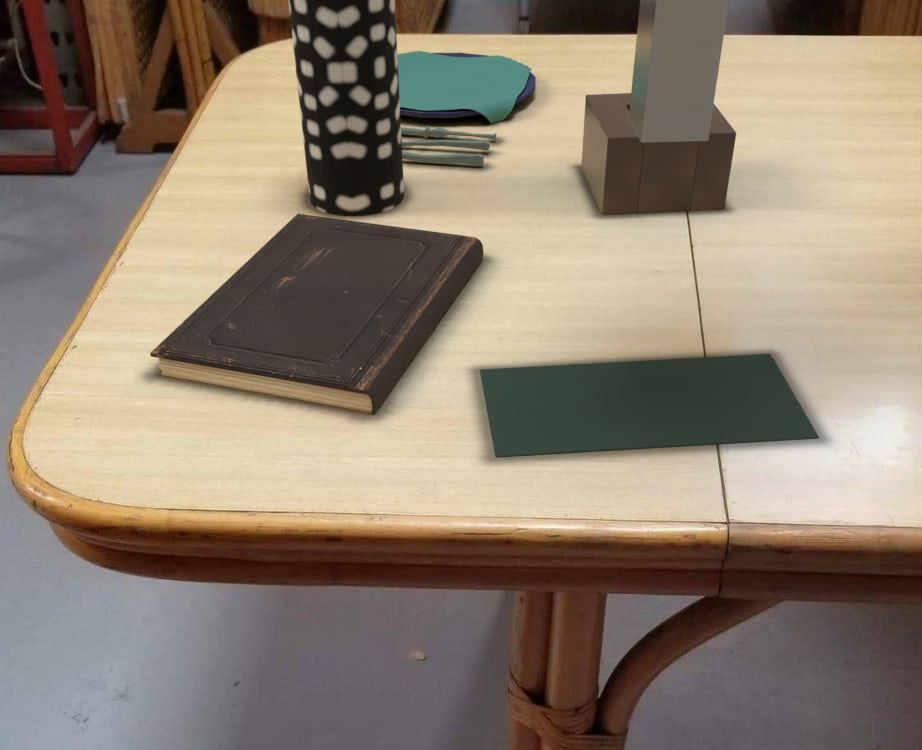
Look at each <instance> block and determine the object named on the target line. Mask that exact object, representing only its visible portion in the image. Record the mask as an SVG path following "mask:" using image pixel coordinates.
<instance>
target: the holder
mask: <svg viewBox="0 0 922 750" xmlns="http://www.w3.org/2000/svg"><path fill="white" fill-rule="evenodd" d="M630 100H631V92H625V93H624V92H623V93H621V92H620V93H599V94H597V93H596V94H585V103H584V117H583V134H582V148H581V149H582V151H581V167H580V168H581V171H582V173H583V175H584V178H585V180H586V182H587V184H588V187H589V189H590V191H591V194H592V197H593V198H594V201H595V203H596V206H597V207H598V210H599V212H600V214H601V216H622V215H623V216H624V215H644V214H662V213H663V214H665V213H685V212H707V211H725V208H726V203H727V196H728V195H727V194H728V190H729V185H730V176H731V170H732V164H733V159H734V158H733V157H734V151H735V144H736V139H737V138H736V137H737V131H736V130H735V129H734V128H733V125H731V124H730V123H729V121H728V120H727V118H726V117H725V116H724V115H723V113H722V112H721V111H720V110H719V108H718V107H717V106H716V104H715V103H714V104H713V111H712V118H711V124H710V131H709V138H708V141H689V142H656V143H642V142H641V141H640V139H639V137H638V135H637V133H636V132H635V130H634V128H633V126H632V124H631V123H630V121H629V110H630Z"/></svg>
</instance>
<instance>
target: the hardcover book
mask: <svg viewBox="0 0 922 750" xmlns="http://www.w3.org/2000/svg"><path fill="white" fill-rule="evenodd" d="M483 260H484V244H483V243H482V241H481V240H480V239H479V238H478V237H475V236H468V235H460V234H453V233H447V232H439V231H432V230H424V229H417V228H416V229H415V228H409V227H401V226H393V225H387V224H379V223H370V222H363V221H357V220H348V219H341V218H335V217H327V216H318V215H312V214H304V213H297V214H296V215H295V216H293V217H292V218H291V219H290V220H289V221H288V222H287V223H286V224H285V225H284V226H283V227H282V228H281V229H280V230H279V231H277V232H276V233H275V234H274V236H272V237H271V238H270V239H269V240H268V241H267V242H266V243H265V244H264V245H263V246H262V247H260V249H258V250H257V252H255V253H254V254H253V255H252V256H251V257H250V258H249V259H248V260H247V261H245V262H244V264H243V265H242V266H240V267H239V268H238V270H236V271H235V272H234V273H233V274H232V275H231V276H230V277H229V278H228V279H226V281H225V282H223V283H222V285H220V286H219V287H218V288H217V289H216V290H215V291H214V292H213V293H212V294H211V295H210V296H209V297H207V298H206V299H205V300H204V302H202V303H201V304H200V305H199V306H198V307H197V308H196V309H195V310H194V311H193V312H192V313H190V315H188V317H186V318H185V319H184V320H183V321H182V322H181V323H180V324H179V325H178V326H177V327H176V328H175V329H174V330H173V331H171V333H170V334H169V335H167V336H166V337H165V338H164V339H163V340H162V341H161V342H160V343H159V344H158V345H157V346H155V348H153V350H152V351H151V352H149V354H150V358H151V357H152V358H156V359H157V358H158V362H159V364H158V368H159V369H160V370H161V375H162V376H166V377H171V378H177V379H181V380H182V379H183V380H188V381H193V382H199V383H205V384H211V385H217V386H222V387H227V388H232V389H238V390H244V391H248V392H254V393H260V394H266V395H272V396H277V397H282V398H287V399H294V400H300V401H304V402H305V401H306V402H311V403H315V404H321V405H327V406H332V407H338V408H344V409H349V410H354V411H359V412H366V413H371V414H370V415H371V416H374V415H375V414H376V413H377V411H378V410H379V408H380V407H381V406H382V404H383V403H384V401H385V400H386V399H387V397H388V396H389V394H390V393H391V391H392V390H393V388H394V387H395V386H396V384H397V383H398V381H399V380H400V378H401V377H402V376H403V374H404V373H405V371H406V370H407V369H408V367H409V366H410V364H411V363H412V361H413V360H414V358H415V357H416V355H417V354H418V352H419V351H420V350H421V348H422V347H423V345H424V344H425V343H426V342H427V340H428V338H429V337H430V336H431V334H433V331H434V330H435V328H436V327H437V325H438V324H439V322H440V321H441V319H443V317H444V316H445V314H446V312H447V311H448V310H449V309H450V307H451V306H452V305H453V303H454V301H455V300H456V299H457V297H458V295H459V294H460V292H461V291H462V290H463V288H464V287H465V285H466V284H467V282H468V281H469V280H470V279H471V277H472V275H473V274H474V273H475V271H476V270H477V268H478V267H479V266H480V264H481V263H482V261H483Z"/></svg>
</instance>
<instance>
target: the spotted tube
mask: <svg viewBox="0 0 922 750" xmlns="http://www.w3.org/2000/svg"><path fill="white" fill-rule="evenodd" d="M287 1H288V10H289V18H290V19H289V20H290V28H291V37H292V38H291V39H292V46H293V47H292V48H293V55H294V56H293V57H294V67H295V75H296V83H297V84H296V85H297V91H298V93H297V94H298V102H299V103H298V104H299V111H300V112H299V113H300V120H301V121H300V122H301V129H302V139H303V140H302V141H303V149H304V158H305V167H306V176H307V185H308V193H309V194H308V195H309V202H310V204H311V205H312V206H313V207H314V209H316V210H318V211H320V212H322V213H326V214H329V215H333V216H340V217H341V216H342V217H365V216H372V215H376V214H381V213H385V212H387V211H390V210H393V209H394V208H396V207H397V206H399V205H400V204H401V203H402V201H403V200H404V198H405V185H404V184H405V183H404V163H403V161H404V159H402V152H403V146H402V141H403V140H402V134H401V127H402V122H401V120H402V119H401V115H400V98H399V78H398V57H397V54H398V41H397V39H398V37H397V20H396V19H397V18H396V0H287Z"/></svg>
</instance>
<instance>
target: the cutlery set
mask: <svg viewBox="0 0 922 750" xmlns="http://www.w3.org/2000/svg"><path fill="white" fill-rule="evenodd" d="M397 57H398V78H399V98H400V116H404V117H405V116H407V117H413V118H421V119H452V118H453V119H454V118H455V119H456V118H463V117H472V116H479V115H482V116H483V117H485V118H486V119H487V120H488V122H489V123H490V124H496V123H500V122H503V120H504V119H506V118H507V117H508V116H509V115H510V113H511V112H512V110H513V109H514V106H515V105H516V104H518V103H521V102H522V101H525V100H526V99H528V98H529V96H530V95H531V94H532V93H533V92H534V91H536V87H537V86H536V85H537V84H536V83H537V82H536V80H537V79H536V76H535V75H534V73H532V72H531V71H532V69H533V68H532V67H529V66H528V65H527V64H524V63H522V62H518V61H517V60H515V59H512V58H511V57H506V56H504V55H486V54H476V53H467V52H430V51H429V52H428V51H423V50H415V51H413V50H412V51H409V52H403V53H397ZM401 135H412V136H413V135H415V136H423V137H424V140H410V141H403V140H402V147H447V148H448V147H449V148H463V149H472V150H479V151H484V152H486V151H489V150H490V148H491V140H493V141H494V143H496V142H497V132H495V133H472V132H471V133H470V132H465V131H454V130H448V129H446V128H443V127H441V126H438V127H435V128H430V127H429V125H428V124H427V125H426V127H425V129H421V128H413V127H404V126H401ZM431 136H433V137H435V138H436V139H434V140H427V139H428V137H431ZM446 136H457V137H472V138H473V137H474V138H480V139H481V138H482V139H483V140H479V139H477V140H475V139H473V140H469V139H438V138H442V137H446ZM484 139H485V140H484ZM487 139H488V140H487ZM484 158H485V155H484V154H483V153H451V154H422V153H421V154H420V153H415V152H409V151H408V152H407V151H402V160H407V161H412V162H417V163H424V164H425V163H426V164H439V165H440V164H443V165H451V164H453V165H454V164H460V165H462V164H463V165H473V166H477V167H482V166H483V165H484V162H485V159H484Z"/></svg>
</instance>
